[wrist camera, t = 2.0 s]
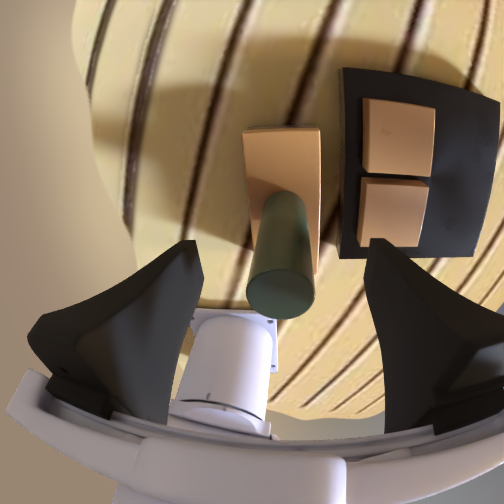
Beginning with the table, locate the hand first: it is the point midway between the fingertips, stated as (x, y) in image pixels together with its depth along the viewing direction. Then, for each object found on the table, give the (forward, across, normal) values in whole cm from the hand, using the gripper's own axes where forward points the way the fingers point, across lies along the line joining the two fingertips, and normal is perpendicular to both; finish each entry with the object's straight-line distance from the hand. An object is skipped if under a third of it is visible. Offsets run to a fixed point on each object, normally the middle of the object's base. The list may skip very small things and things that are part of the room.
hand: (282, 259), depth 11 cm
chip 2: (+6, -6, 0) cm, 9 cm away
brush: (+7, 0, 0) cm, 7 cm away
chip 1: (+6, -6, -4) cm, 10 cm away
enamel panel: (+7, -9, -2) cm, 12 cm away
